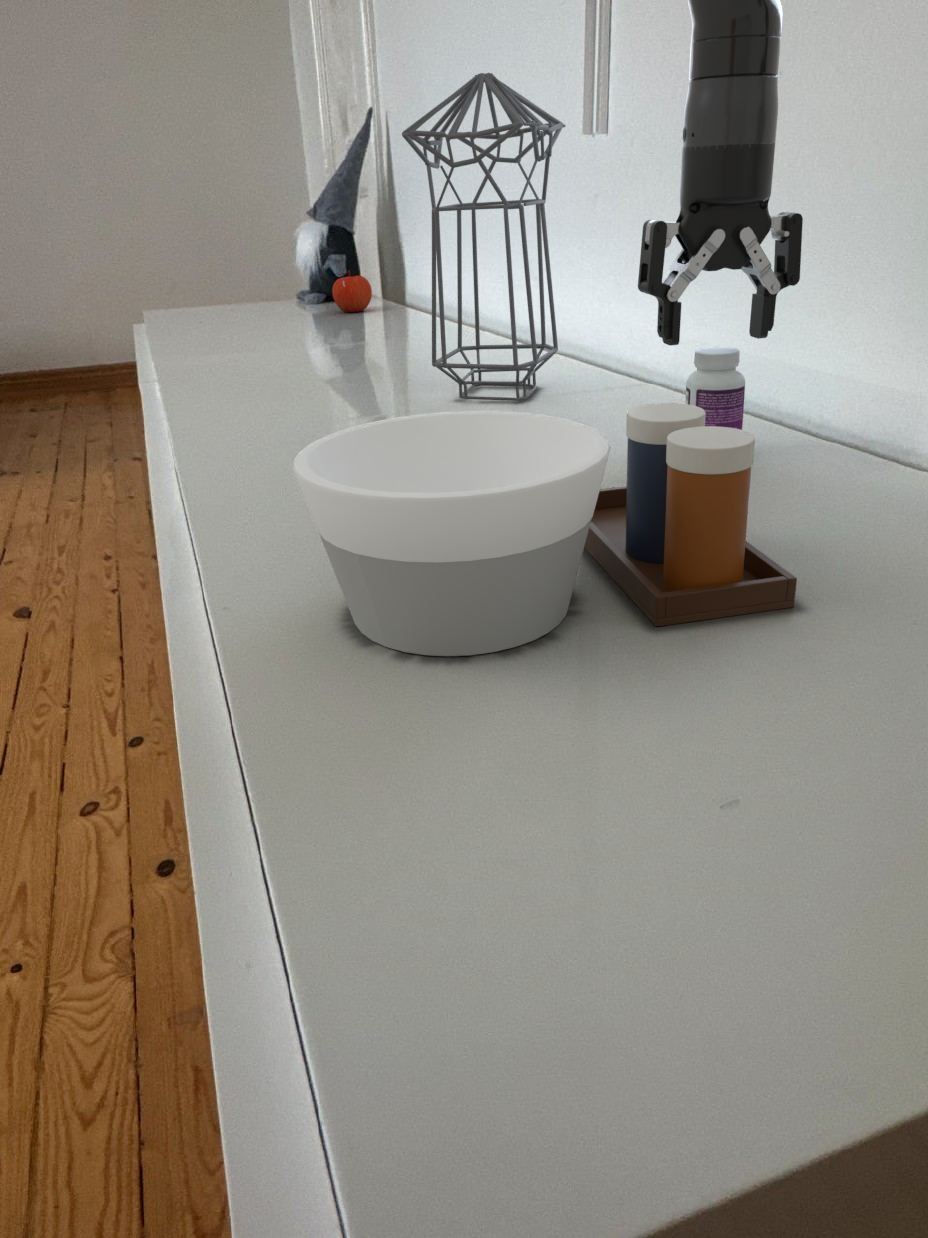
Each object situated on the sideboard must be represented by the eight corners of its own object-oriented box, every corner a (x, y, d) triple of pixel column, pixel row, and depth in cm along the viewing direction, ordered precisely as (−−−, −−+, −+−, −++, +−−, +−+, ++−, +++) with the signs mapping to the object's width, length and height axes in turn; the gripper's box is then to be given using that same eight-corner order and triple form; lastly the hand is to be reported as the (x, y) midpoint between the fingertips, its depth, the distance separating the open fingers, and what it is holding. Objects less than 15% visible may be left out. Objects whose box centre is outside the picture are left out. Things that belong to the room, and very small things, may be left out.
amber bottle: (721, 568, 66) (731, 422, 61) (757, 597, 61) (770, 442, 57) (649, 577, 65) (653, 430, 60) (680, 608, 60) (687, 452, 56)
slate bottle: (680, 533, 72) (686, 399, 68) (710, 558, 67) (718, 416, 63) (613, 542, 71) (615, 407, 67) (639, 568, 66) (643, 424, 62)
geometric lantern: (542, 410, 111) (534, 61, 96) (415, 407, 116) (389, 75, 101) (572, 381, 124) (570, 71, 110) (457, 380, 129) (440, 82, 114)
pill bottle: (753, 453, 91) (760, 348, 87) (713, 464, 89) (720, 357, 85) (709, 442, 95) (715, 342, 91) (671, 453, 93) (675, 350, 89)
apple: (363, 314, 192) (359, 271, 189) (327, 314, 195) (322, 272, 192) (380, 308, 199) (376, 267, 196) (345, 308, 202) (341, 268, 198)
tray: (664, 504, 79) (664, 481, 79) (794, 607, 61) (797, 577, 60) (556, 517, 78) (556, 494, 77) (656, 627, 59) (657, 597, 58)
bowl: (661, 642, 57) (668, 466, 53) (341, 704, 53) (318, 517, 48) (545, 538, 74) (542, 398, 69) (295, 578, 69) (274, 430, 65)
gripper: (666, 143, 76) (657, 353, 83) (831, 135, 78) (808, 341, 85) (631, 145, 82) (625, 340, 89) (784, 138, 85) (766, 328, 92)
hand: (714, 340), depth 87 cm, fingers open, 8 cm apart
